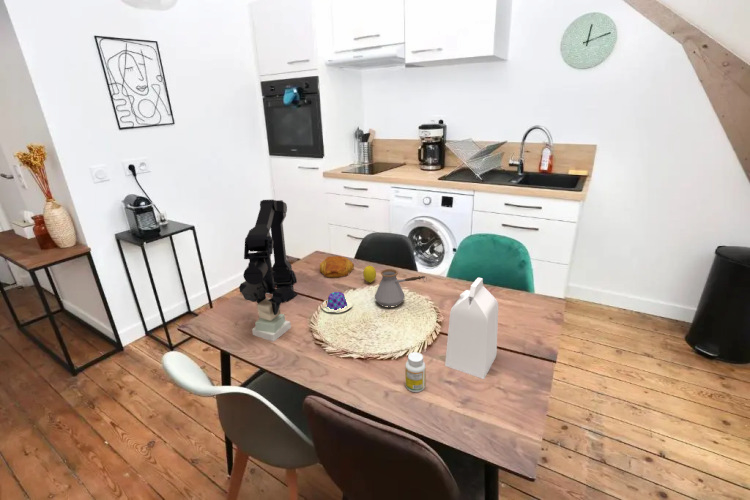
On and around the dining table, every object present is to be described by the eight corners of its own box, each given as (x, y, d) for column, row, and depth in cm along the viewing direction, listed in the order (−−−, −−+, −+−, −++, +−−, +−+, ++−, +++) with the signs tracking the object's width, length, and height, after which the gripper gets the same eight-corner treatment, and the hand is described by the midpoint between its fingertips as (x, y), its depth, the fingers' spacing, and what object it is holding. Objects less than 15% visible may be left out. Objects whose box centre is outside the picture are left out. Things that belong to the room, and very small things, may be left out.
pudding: (314, 308, 146) (313, 296, 144) (337, 296, 154) (336, 284, 152) (337, 318, 138) (336, 305, 137) (359, 305, 147) (358, 293, 145)
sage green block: (267, 319, 134) (266, 311, 133) (285, 321, 132) (284, 314, 131) (256, 330, 128) (255, 322, 127) (275, 333, 126) (274, 325, 125)
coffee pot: (368, 304, 146) (367, 269, 141) (385, 292, 155) (385, 258, 150) (417, 321, 135) (418, 283, 129) (433, 307, 143) (434, 270, 138)
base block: (271, 323, 137) (270, 316, 136) (291, 329, 134) (290, 321, 132) (253, 336, 130) (252, 329, 129) (274, 342, 126) (272, 335, 125)
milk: (484, 379, 106) (491, 296, 96) (445, 365, 112) (448, 286, 102) (496, 355, 115) (504, 277, 106) (459, 344, 121) (464, 269, 112)
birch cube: (269, 310, 132) (267, 297, 130) (280, 313, 130) (278, 300, 128) (259, 317, 128) (256, 304, 126) (270, 320, 126) (268, 307, 124)
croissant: (324, 269, 184) (321, 254, 181) (356, 266, 181) (353, 250, 178) (316, 282, 170) (312, 265, 168) (350, 278, 168) (347, 262, 165)
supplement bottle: (417, 395, 101) (418, 366, 97) (401, 387, 104) (401, 357, 101) (428, 384, 105) (429, 355, 101) (412, 376, 108) (412, 348, 104)
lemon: (378, 280, 166) (377, 263, 163) (373, 286, 161) (373, 268, 158) (366, 279, 168) (365, 262, 165) (361, 284, 163) (360, 267, 160)
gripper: (222, 275, 120) (231, 318, 126) (268, 286, 112) (274, 331, 118) (248, 262, 129) (255, 302, 135) (292, 271, 121) (297, 314, 127)
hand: (269, 312), depth 129 cm, fingers closed on birch cube, 5 cm apart
